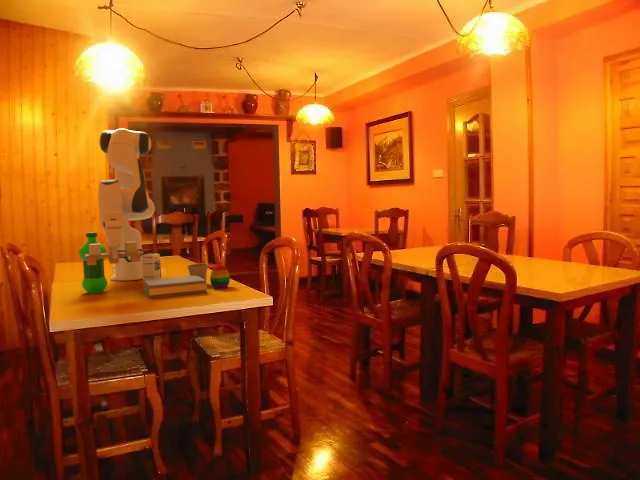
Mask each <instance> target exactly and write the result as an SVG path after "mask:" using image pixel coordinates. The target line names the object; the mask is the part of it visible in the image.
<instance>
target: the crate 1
mask: <svg viewBox="0 0 640 480" xmlns="http://www.w3.org/2000/svg"><path fill="white" fill-rule="evenodd" d="M101 244H102V243H100V242H99V244H89V255H101Z"/></svg>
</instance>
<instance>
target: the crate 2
mask: <svg viewBox="0 0 640 480" xmlns="http://www.w3.org/2000/svg"><path fill="white" fill-rule="evenodd" d="M125 252H126V253H134V252H137V242H136V241H133V242H125Z"/></svg>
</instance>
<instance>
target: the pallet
mask: <svg viewBox="0 0 640 480" xmlns="http://www.w3.org/2000/svg"><path fill="white" fill-rule="evenodd" d="M140 255H142V253H141V252H140V251H137V252H134V253H126V252H118V258H117V259H113V258H112V253H111V252H106V253H101V255H89V254H85V258H86V259H87V264H88V265H96V259H97V258H104V259H107V258H108V259H109V260H108V262H109V264H110V265H114V263H119V257H125V256H131V261H132V262H141V259H140Z"/></svg>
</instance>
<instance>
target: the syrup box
mask: <svg viewBox="0 0 640 480" xmlns="http://www.w3.org/2000/svg"><path fill="white" fill-rule="evenodd" d="M160 254H161V253H147V254H143V255H142V270H143V279H142V280H149V279H160V278H162V268H161V267H162V266H161V255H160ZM142 282H143V281H142ZM143 285H144V282H143Z"/></svg>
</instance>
